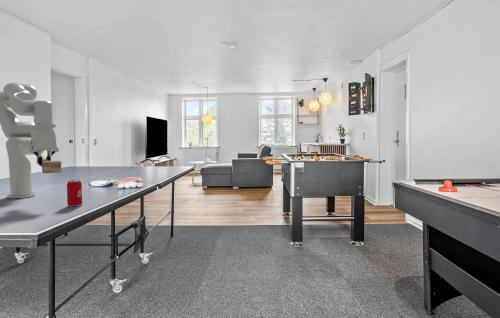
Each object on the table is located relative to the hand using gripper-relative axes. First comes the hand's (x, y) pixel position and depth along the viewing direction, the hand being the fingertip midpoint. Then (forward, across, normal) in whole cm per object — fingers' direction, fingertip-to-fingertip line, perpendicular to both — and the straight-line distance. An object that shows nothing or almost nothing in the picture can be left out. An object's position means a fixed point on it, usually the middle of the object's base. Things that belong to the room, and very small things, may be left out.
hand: (44, 164), depth 161 cm
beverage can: (+19, -8, +17) cm, 26 cm away
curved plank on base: (+1, 0, +2) cm, 3 cm away
